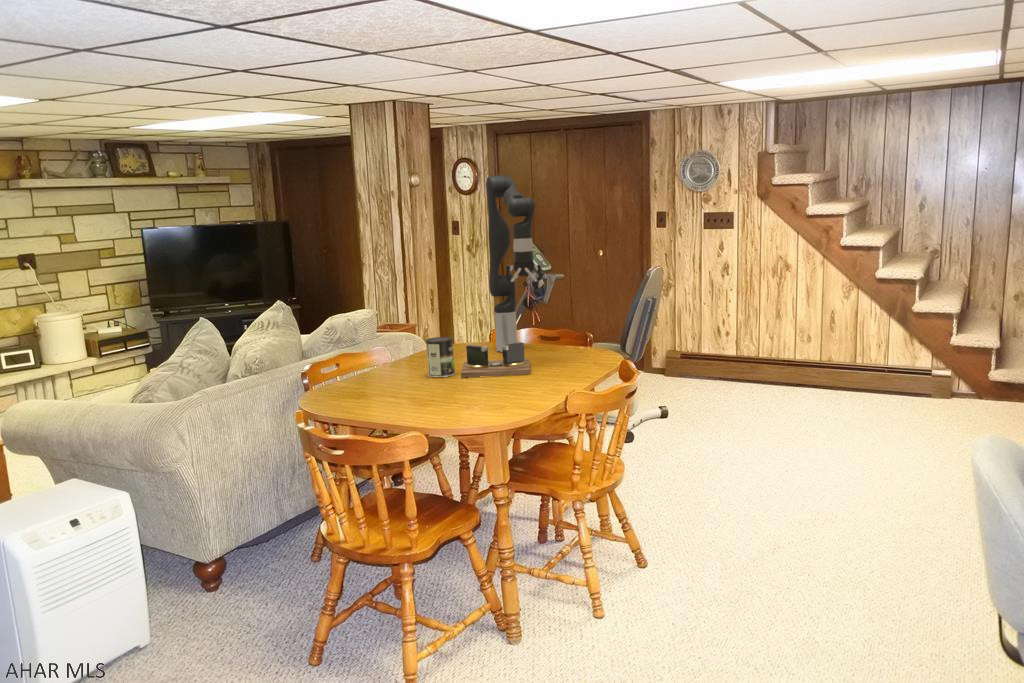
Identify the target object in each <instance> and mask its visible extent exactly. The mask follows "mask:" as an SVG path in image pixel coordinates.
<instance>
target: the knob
mask: <svg viewBox="0 0 1024 683" xmlns="http://www.w3.org/2000/svg"><path fill="white" fill-rule="evenodd" d="M502 351H503V352H502V360H503V364H504V366H508V367H515V366H522V365H524V361H525V359H526V358H525V343H524V342H521V341H517V343H513V344H508V345H502Z"/></svg>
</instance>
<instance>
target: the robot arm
mask: <svg viewBox="0 0 1024 683" xmlns="http://www.w3.org/2000/svg"><path fill="white" fill-rule="evenodd" d="M485 188H486V189H485V191H486V200H487V201H486V202H487V209H488V210H487V212H488V213H487V214H488V246H489V276H488V280H489V282H488V284H489V293H490V295H491V297H494V298H495V297H496V298H498V297H499V298H501V297H505V298H504V300H502V301H501V302H500V303H497V304H495V305H494V308H493V310H494V324H495V325H494V326H495V343H496V344H495V345H496V352H498V351H500V352H499V353H503V351H502V345H508V344H513V343H518V332H517V329H518V328H517V312H516V304H517V301H516V297H517V296H516V291H517V279H518V278H519V277H523V276H524V277H530V278H532V280H533V286H534V288H533V289H534V292H537V291H538V290H539V288H540V287H539V284H540V283H539V281H541V280H544V276H543V265H542V263H539V264H535V263H534V245H533V244H534V243H533V237H532V236H533V235H532V232H533V231H532V225H533V221H534V220H533V219H534V218H533V217H534V215H535V210H536V202H535V201H534V199H532V197H524V195H523V194H521V193H520V192H519V191H518V189H517V186H516V183H514V180H513V178H512V177H511V176H509V175H504V174H503V175H500V174H499V175H489V176H488V177H487V178H486V181H485ZM501 198H502V199H503V202H504V204H505V205H506V206H507V212H508V214H509V216H511V217H514V218H520V217H524V219H523V220H522V221H520V222H517V223H514V224H513V227H512V229H513V233H512V234H513V265H510V264H508V265H506V268H505V270H506V271H505V272H506V273H505V274H500V273H499V272H500V266H501V264H502V263H503V262H502V261H503V260H504V258H505V256H506V255H507V253H508V251H509V249H510V247H511V229H510V226H509V224H508V222H507V221H506V219H505V218H504V217H503V215H502V214H501V212H500V211H499V207H498V204H497V201H496V200H497V199H501ZM534 269H536V271H537V273H538V274H537V275H538V276H537V275H536V273H535V272H534ZM513 270H514V271H515V273H513V275H512V271H513Z"/></svg>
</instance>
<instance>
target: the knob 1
mask: <svg viewBox="0 0 1024 683" xmlns="http://www.w3.org/2000/svg"><path fill="white" fill-rule="evenodd" d="M465 350H466V362H467V364H468V368H472V369H478V368H485V367H488V365H489V364H488V361H489V352H488V351H489V347H488V345H485V346H484V345H476V344H468V345H465Z"/></svg>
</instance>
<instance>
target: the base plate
mask: <svg viewBox="0 0 1024 683" xmlns="http://www.w3.org/2000/svg"><path fill="white" fill-rule="evenodd" d="M488 364H489V365H488V367H485V368H478V369H472V368H468V364H467V361H464V362H463V365H462V367H461V370H460V371H461V372H460V378H461V379H465V378H464V377H478V378H481V377H480V376H496V377H502V376H501V375H515V376H526V375H525V374H531V365H530V364H531V362H530V358H525V361H524V365H522V366H515V367H508V366H504V364H503V359H493V360H492V359H490V360H489V359H488Z"/></svg>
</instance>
